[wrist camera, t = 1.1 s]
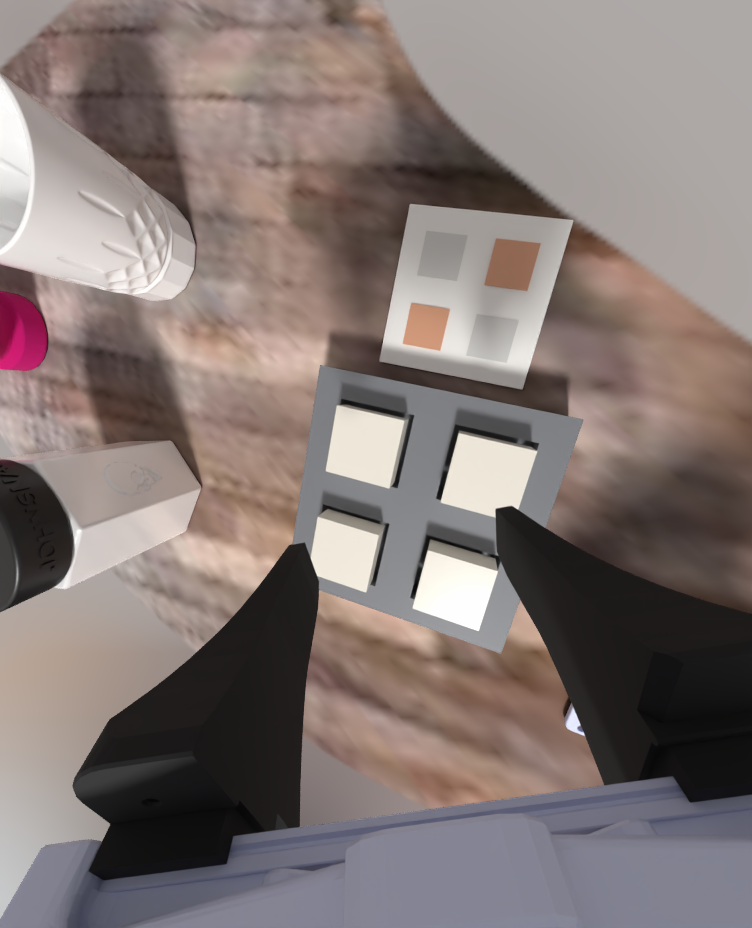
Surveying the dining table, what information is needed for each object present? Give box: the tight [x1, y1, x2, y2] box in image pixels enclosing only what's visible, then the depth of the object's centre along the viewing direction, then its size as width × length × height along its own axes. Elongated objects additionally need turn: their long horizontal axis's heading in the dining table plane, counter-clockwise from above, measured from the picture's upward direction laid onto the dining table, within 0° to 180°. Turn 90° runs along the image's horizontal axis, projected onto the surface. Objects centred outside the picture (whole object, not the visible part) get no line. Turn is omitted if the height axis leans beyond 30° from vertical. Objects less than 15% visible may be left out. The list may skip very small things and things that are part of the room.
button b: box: [413, 539, 498, 631], centre depth 20 cm, size 4×4×2 cm
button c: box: [326, 405, 409, 488], centre depth 20 cm, size 4×4×2 cm
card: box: [379, 204, 574, 390], centre depth 20 cm, size 9×9×1 cm
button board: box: [292, 365, 583, 653], centre depth 22 cm, size 15×15×3 cm
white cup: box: [0, 73, 196, 301], centre depth 20 cm, size 8×8×10 cm
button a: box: [441, 430, 537, 518], centre depth 19 cm, size 4×4×2 cm
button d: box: [311, 509, 385, 592], centre depth 22 cm, size 4×4×2 cm
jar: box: [0, 440, 201, 612], centre depth 23 cm, size 9×8×12 cm
